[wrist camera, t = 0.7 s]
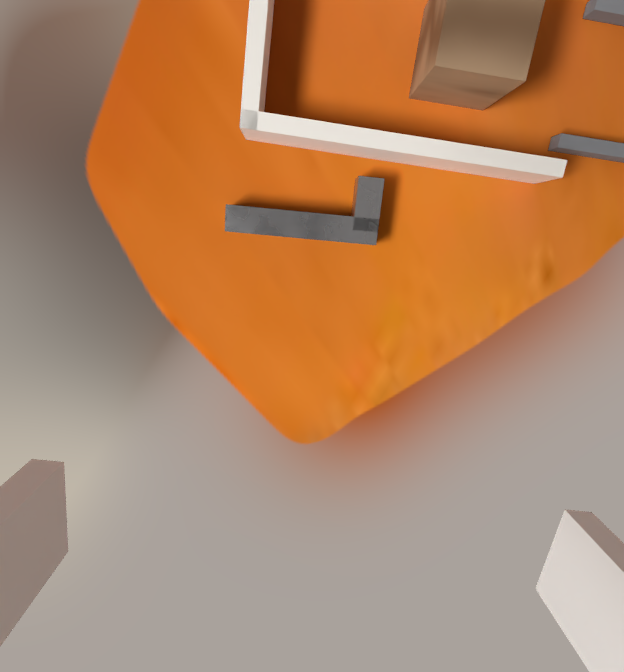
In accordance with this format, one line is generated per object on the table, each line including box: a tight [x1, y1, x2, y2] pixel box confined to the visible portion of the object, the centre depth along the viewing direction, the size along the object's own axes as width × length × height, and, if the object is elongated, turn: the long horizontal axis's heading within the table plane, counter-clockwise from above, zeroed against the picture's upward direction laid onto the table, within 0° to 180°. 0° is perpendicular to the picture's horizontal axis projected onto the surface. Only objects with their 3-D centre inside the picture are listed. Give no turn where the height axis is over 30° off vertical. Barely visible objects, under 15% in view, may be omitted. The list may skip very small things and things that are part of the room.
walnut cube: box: [409, 0, 545, 110], centre depth 27 cm, size 6×6×6 cm
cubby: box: [240, 0, 567, 184], centre depth 27 cm, size 15×24×4 cm, turn 82°
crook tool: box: [225, 176, 384, 245], centre depth 31 cm, size 5×12×2 cm, turn 85°
